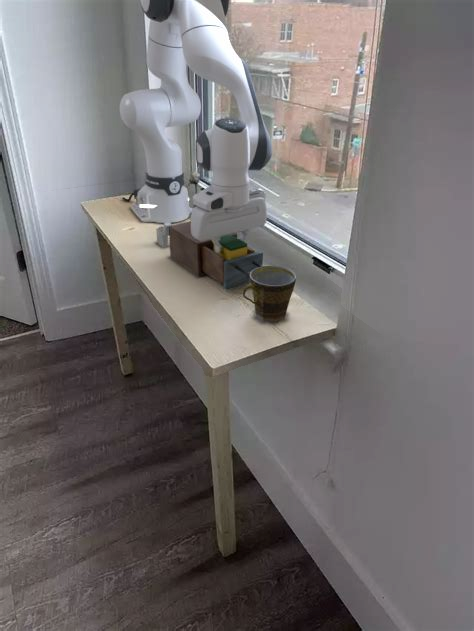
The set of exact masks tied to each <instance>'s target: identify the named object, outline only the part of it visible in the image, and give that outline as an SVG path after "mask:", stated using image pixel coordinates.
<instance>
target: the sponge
mask: <svg viewBox="0 0 474 631" xmlns="http://www.w3.org/2000/svg"><path fill="white" fill-rule="evenodd" d="M218 242H219V243H220V244H221V245H223V246H224V249H223V250H224V252H222V253H217V252H215V245H214V252H215V253H217V254H219V255H220V256H222V257H224V258H225V260H230V259H233V258H237V257H241V256H244V255H247V247H248V243H247V242H246V241H245V242H243V241H241V240H239V238H238V237H237V238H235V237H234V236H232V235H226V236H222V237H220V241H218Z"/></svg>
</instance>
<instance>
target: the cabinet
mask: <svg viewBox="0 0 474 631" xmlns="http://www.w3.org/2000/svg"><path fill="white" fill-rule="evenodd" d="M229 235H232V236H234V237H235V238H237V239H238V232H237V233H233V234H229ZM225 236H226V235H225ZM221 237H222V236H221ZM168 241H169V255H170V258H171V259H172V260H174V261H175V262H177V263H178V264H179V265H181V266H182V267H184V268H185V269H187V270H188V271H189V272H191V273H192V274H194V275H195V276H196V277H202V276H205V275H207V274H206V273H205V272H203V271H202V270H201V260H200V246H202V245H205V244H209V243H213V242H212V240H211V239H209V240H205V241H199V240H197V239H196V238H194V237H193V236H192V234H191V220H189V221H186V222H185V221H184V222H181V223H176V224H171V226H169V236H168Z"/></svg>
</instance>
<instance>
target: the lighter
mask: <svg viewBox="0 0 474 631" xmlns="http://www.w3.org/2000/svg"><path fill="white" fill-rule="evenodd" d="M171 225H172V223H170V222H166V223H163V225H162V226H161V225H160V226H158V228H156V229H155V230H156V243H157V244H158V245H159V246H161V248H168V247H169V226H171Z"/></svg>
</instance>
